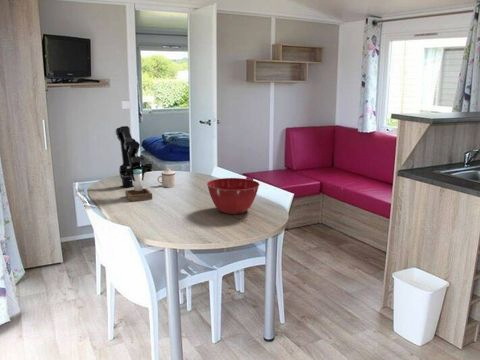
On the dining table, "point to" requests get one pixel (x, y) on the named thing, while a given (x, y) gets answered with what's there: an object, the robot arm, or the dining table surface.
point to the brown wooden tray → (138, 195)
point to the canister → (138, 180)
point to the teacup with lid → (167, 178)
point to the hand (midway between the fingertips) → (138, 180)
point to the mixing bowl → (233, 194)
